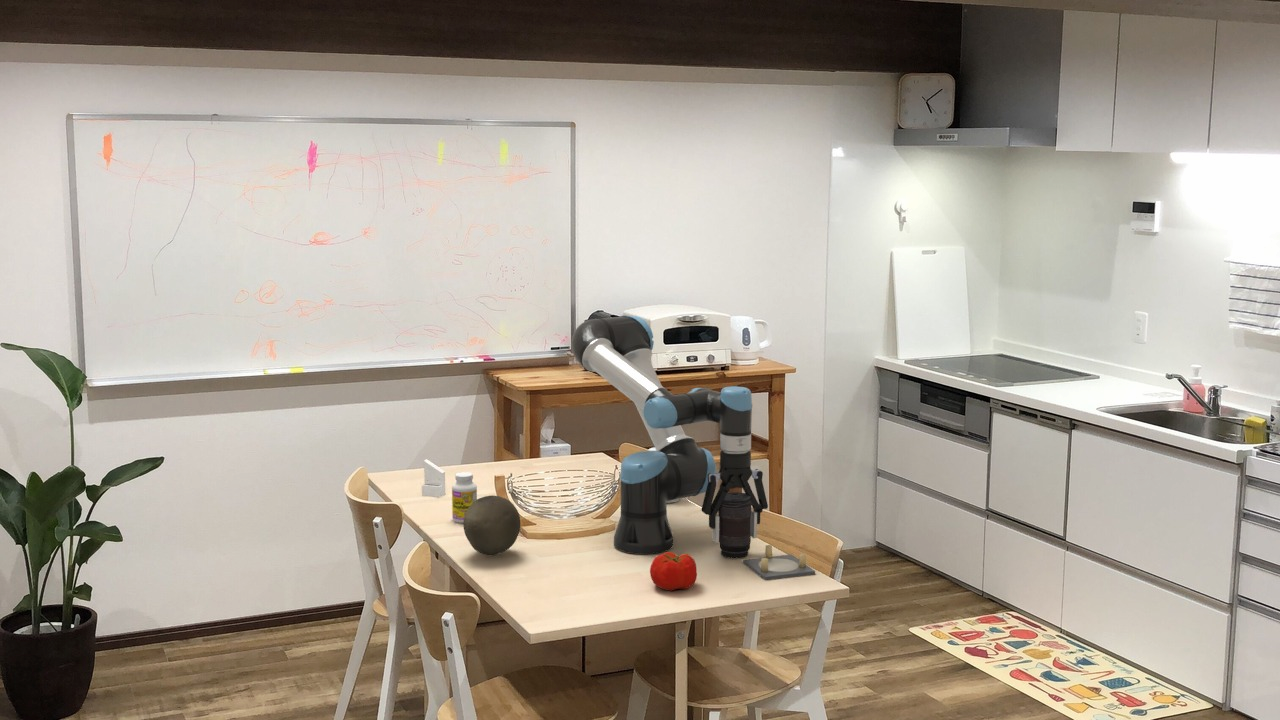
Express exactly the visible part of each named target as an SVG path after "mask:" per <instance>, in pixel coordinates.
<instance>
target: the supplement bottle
mask: <svg viewBox="0 0 1280 720" xmlns="http://www.w3.org/2000/svg"><path fill="white" fill-rule="evenodd" d="M454 477H455V480H456V481H455V482H454V483H453V484H452V487H451V497H452V498H451V501H452V502H451V504H452V505H451V508H452V514H451V515H452V521H454V522H455V523H458V524H459V523H460V524H463V522H464V516H465V514H466V511H467V510H468V508H469V507H470V505H471V504H472V503H473V502H474V501H476V500H477V499H478V486H477V484H476V482H474V481H473V479H474V475H473V473H472V472H470V471H463V472H456V474H455V475H454Z"/></svg>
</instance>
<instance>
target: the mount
mask: <svg viewBox="0 0 1280 720" xmlns="http://www.w3.org/2000/svg"><path fill="white" fill-rule="evenodd" d="M742 564H744V566H746V567H747V568H749V569H750V571H752V572H753V573H755V574H756V575H758V576H759V577H760V578H761V579H762V580H764V581H771V580H778V579H787V578H795V577H804V576H812V575H816V571H815V569H814V568H812V567H810V566H809V565H807V554H806V553H799V557H796V556H795V555H794V554H792V553H790V554H782V555H773V545H771V544H767V545H765V556H764V557H756V558H748V559H747V558H746V559H745V558H744V559H742Z"/></svg>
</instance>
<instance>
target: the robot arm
mask: <svg viewBox="0 0 1280 720" xmlns="http://www.w3.org/2000/svg"><path fill="white" fill-rule="evenodd" d="M572 334H573V335H572V337H571V351H572V354H573V356H574V358H575V360H576V361H577V362H578V363H579V365H581V366H582V367H583V368H584V369H586V371H589V372H593V373H594V372H595V373H597V374H598V375H599V376H601V377H602V378H603V379H604V380H606V382H608V383H609V384H610V385H611V386H613V387H614V388H615V389H617V390H618V391H619V392H620V393H622V394H623V395H625V396H626V397H627V398H628V399H629V400H630V401H632V402H633V403H634V405H635V407H636V409H637V412H638V414H639V416H640V418H641V420H642V422H643V424H644V426H645V429H646V431H647V434H648V436H649V437H650V440H651V442H652V443H653V445H654V446H653V447H655V448H656V451H648V450H647V451H645V450H641V451H638V452H637V451H636V452H633V453H632V454H631V453H630V454H629V455H627V456H626V457H624V459H622V460H621V464H620V473H619V480H620V517H619V520H618V523H617V526H616V529H615V532H614V535H613V547H614V548H615V549H616V550H618V551H620V552H624V553H629V554H634V555H635V554H636V555H652V554H653V555H654V554H659V553H665V552H668V551H669V550H671V549H672V548H673V547H674V534H673V532H672V528H671V526H670V522H669V519H668V515H667V511H668V510H667V509H668V508H667V507H668V506H667V504H668V503H667V501H670V500H675V499H680V500H681V499H684V498H690V497H696V496H699V495H701V494H704V498H703V502H702V505H701V506H702V507H701V512H702V513H703V514H705V515H708V528H710V529H711V539H712V541H714V543H719V514H718V510H719V508H720V506H721V504H722V502H723V499H724V498H725V496H726V494H727V493H730V491H731V490H732V489H733V490H734V489H736V488H738V489H742V490H743V493H745V494H747V495H748V496H750V499H751V508H752V509H751V518H750V526H751V529H750V533H751V538H752V539H758V525H760V523H761V513H762V512H763V510H767V509H768V507H769V504H768V501H767V497H766V492H765V487H764V484H763V482H764V481H763V475H764V473H763V471H762V470H759V469H758V468H755V469H752V468H751V466H752V465H751V464H752V453H751V451H750V450H751V449H752V413H753V410H752V409H753V402H752V401H753V400H752V391H751V390H750V389H749V388H747V387H744V386H737V385H736V386H733V385H732V386H726V387H725V386H724V387H723V388H722V389H721V391H716V390H712V389H710V388H705V387H695V388H692V389H691V390H690V391H688V392H686V393H680V394H679V393H678V394H673V393H671V391H669V390H668V389H666V388H665V387H664V386H662V383H661V381H660V379H659V377H658V375H657V372H656V370H655V369H654V367H653V365H652V363H651V358H652V357H653V352H652V350H653V348H654V340H653V339H654V334H653V331H652V329H651V327H650V325H649V324H648V322H647V321H646V320H645V319H643V318H642V317H640V316H637V315H620V316H614V317H604V318H603V317H601V318H593V319H588V320H585V321H584V322H581V324H579V325H578V326H577V328H575V330H574V332H573V333H572ZM707 421H708V422H713V423H716V424H720V433H719V435H720V436H719V437H720V439H719V441H720V443H719V444H720V445H719V448H720V450H721V451H720V452H719V467H720V468H719V471H718V472H717V467H716V461H715V458H714V456H713V454H712V453H711V451H710V450H708V449H706V448H704V447H698V445H697V442H696V440H695V439H694V437H692V436H689V435H686V433H685V431H684V429H683V427H682V426H683V425H689V424H695V423H700V422H701V423H702V422H707ZM751 477H752V478H753V482H754V487H755V491H756V496H757V498H756V496H755V494H754V492H753V491H752V488H751V485H750V483H749V480H750V479H751ZM719 479H720V480H721V482H720V485H719V489H718V490H717V493H716V495H715V492H716V489H717V483H718V481H719Z"/></svg>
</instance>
